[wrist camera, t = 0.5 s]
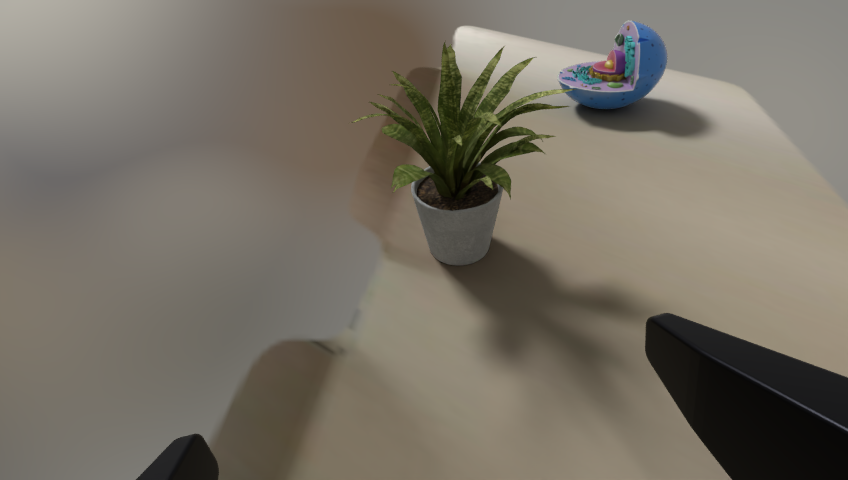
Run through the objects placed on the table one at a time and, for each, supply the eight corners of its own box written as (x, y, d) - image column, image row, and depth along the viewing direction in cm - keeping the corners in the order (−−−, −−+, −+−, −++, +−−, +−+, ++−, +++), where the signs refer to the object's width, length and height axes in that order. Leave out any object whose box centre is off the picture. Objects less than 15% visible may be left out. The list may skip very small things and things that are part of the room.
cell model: (548, 92, 59) (556, 15, 53) (640, 87, 58) (660, 7, 52) (561, 126, 52) (572, 41, 46) (667, 121, 51) (694, 33, 44)
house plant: (477, 356, 29) (476, 133, 19) (337, 271, 36) (278, 75, 26) (572, 238, 37) (610, 34, 26) (442, 188, 44) (430, 11, 34)
